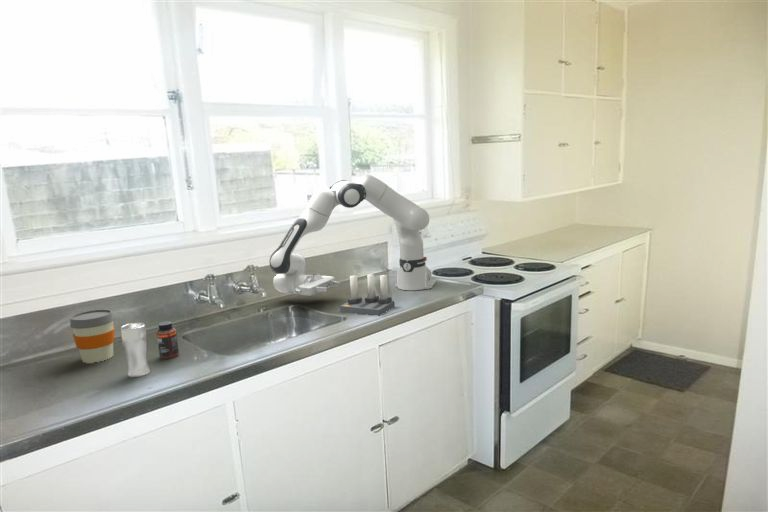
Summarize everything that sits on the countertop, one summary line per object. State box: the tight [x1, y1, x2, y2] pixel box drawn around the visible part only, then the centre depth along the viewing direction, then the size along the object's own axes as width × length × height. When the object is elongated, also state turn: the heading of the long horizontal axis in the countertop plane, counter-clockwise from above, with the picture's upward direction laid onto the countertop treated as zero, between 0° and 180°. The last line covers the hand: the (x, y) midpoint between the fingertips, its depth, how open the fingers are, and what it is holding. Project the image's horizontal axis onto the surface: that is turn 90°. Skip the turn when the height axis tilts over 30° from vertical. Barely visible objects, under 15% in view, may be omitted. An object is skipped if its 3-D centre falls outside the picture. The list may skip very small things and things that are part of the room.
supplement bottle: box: [156, 320, 180, 360], centre depth 170 cm, size 6×6×11 cm
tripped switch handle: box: [347, 275, 363, 304], centre depth 217 cm, size 5×4×11 cm
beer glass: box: [120, 322, 151, 378], centre depth 156 cm, size 7×7×15 cm
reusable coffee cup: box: [69, 308, 115, 364], centre depth 171 cm, size 13×13×15 cm
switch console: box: [339, 273, 396, 317], centre depth 214 cm, size 14×18×14 cm
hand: (333, 286), depth 221 cm, fingers open, 8 cm apart
